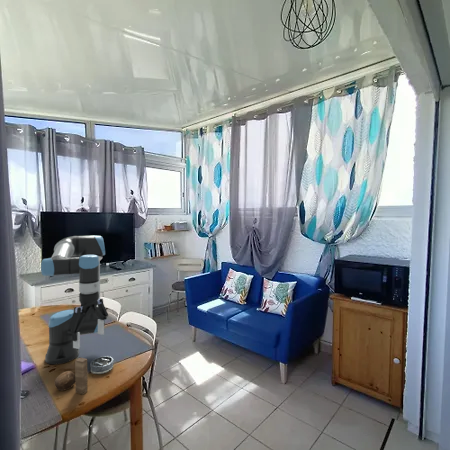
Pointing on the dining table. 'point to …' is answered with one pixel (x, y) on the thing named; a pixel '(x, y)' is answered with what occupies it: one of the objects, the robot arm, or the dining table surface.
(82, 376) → the brown wooden block
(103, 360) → the tin
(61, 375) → the brown oval lump
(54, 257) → the robot arm
